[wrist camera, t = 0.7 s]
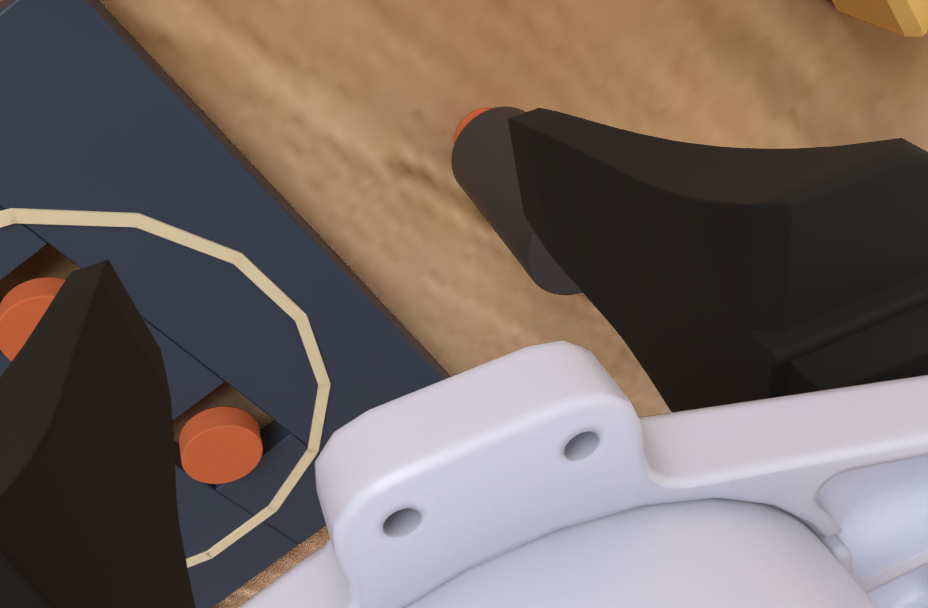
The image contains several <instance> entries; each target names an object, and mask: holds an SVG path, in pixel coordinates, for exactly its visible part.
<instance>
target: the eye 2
mask: <svg viewBox="0 0 928 608" xmlns="http://www.w3.org/2000/svg"><path fill="white" fill-rule="evenodd" d="M179 446H180V455H181V463H182V466H183V469H184V470H185V472H186V473H187V474H188V475H189V476H190V477H192V478H193V479H195V480H197V481H200V482H203V483H208V484H223V483H228V482H232V481H235V480H237V479H240V478H242V477H244V476H245V475H247V474H248V473H250V472H251V471H252V470H253V469H254V468H255V467H256V466H257V464H258V463H259V461H260V459H261V457H262V453H263V445H262V440H261V436H260V432H259V427H258V424H257V422H256V420H255V419H254V418H253V416H251V415H250V414H249V413H248V412H246V411H244V410H242V409H239V408H235V407H228V406H222V407H215V408H210V409H207V410H204V411H202V412H200V413H198V414H196V415H195V416H193V417H192V418H191V419H190V420H189V421H188V422H187V423H186V424H185V425H184V427H183V429H182V431H181V433H180V436H179Z"/></svg>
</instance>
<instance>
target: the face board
mask: <svg viewBox="0 0 928 608" xmlns="http://www.w3.org/2000/svg"><path fill="white" fill-rule="evenodd" d="M47 243H49V244H50V245H51V246H53V247H54V248H55V249H56V250H58V251H59V252H60V253H62V254H63V255H64V256H65V257H67V258H68V259H69V260H70V261H72V262H73V263H74V264H76V265H77V266H78V267H79V268H81V269H82V268H85V267H88V266H91V265H93V264H96V263H99V262H102V261H105V260H108V259H109V261H110V263H111V265H112V266H113V268H114V270H115V272H116V273H117V275H118V277H119V278H120V280H121V282H122V284H123V285H124V287H125V289H126V291H127V292H128V294H129V296H130V297H131V299H132V301H133V303H134V304H135V306H136V308H137V310H138V311H139V313H140V315H141V316H142V318H143V320H144V322H145V323H146V325H147V327H148V328H149V330H150V332H151V334H152V335H153V337H154V339H155V341H156V342H157V344H158V346H159V347H160V349H161V353H162V358H163V362H164V366H165V371H166V375H167V380H168V385H169V390H170V394H171V405H172V420H173V421H174V420H175V419H176V418H178V417H179V416H180V415H182V414H183V413H184V412H186V411H187V410H188V409H190V408H191V407H192V406H194V405H195V404H196V403H198V402H199V401H200V400H202V399H203V398H204V397H206V396H207V395H208V394H210V393H211V392H212V391H214V390H215V389H216V388H218V387H219V386H220V385H222V384H223V383H224V381H225V382H227V383H228V384H229V385H231V386H232V387H233V388H234V389H236V390H237V391H238V392H239V393H241V394H242V395H243V396H245V397H246V398H247V399H248V400H250V401H251V402H252V403H254V404H255V405H256V406H257V407H259V408H260V409H261V410H263V411H264V412H265V413H266V414H268V415H269V416H270V417H272V418H273V419H274V420H275V421H274V422H272V423H271V424H269V425H268V426H267V427H265V428H264V429H263V430H261V431H260V436H261V440H262V445H263V453H262V457H261V459H260V461H259V463H258V464H257V466H256V467H255V468H254V469H253V470H252V471H251V472H250V473H248V474H247V475H245V476H244V477H242V478H240V479H237V480H235V481H232V482H228V483H223V484H208V483H203V482H200V481H197V480H195V479H193V478H192V477H190V476H189V475H188V474H187V473H186V472H185V470H184V469H183V466H182V463H181V455H180V446H178V445H177V444H175V443H174V456H175V475H176V494H177V507H178V516H179V524H180V530H181V535H182V540H183V546H184V551H185V557H186V562H187V568H188V573H189V578H190V582H191V587H192V592H193V597H194V602H195V607H196V608H212V607H214V606H215V605H216V604H218V603H219V602H220V601H222V600H223V599H225V598H226V597H227V596H229V595H230V594H231V593H233V592H234V591H236V590H237V589H238V588H240V587H241V586H242V585H244V584H245V583H247V582H248V581H249V580H251V579H252V578H253V577H255V576H256V575H258V574H259V573H260V572H262V571H263V570H264V569H266V568H267V567H269V566H270V565H271V564H273V563H274V562H275V561H277V560H278V559H280V558H281V557H282V556H284V555H285V554H287V553H288V552H289V551H291V550H292V549H293V548H295V547H296V546H297V545H298V544H301V543H302V542H303V541H305V540H306V539H308V538H309V537H310V536H312V535H313V534H314V533H316V532H317V531H319V530H320V529H321V528H323V527H324V526H325V525H326V522H325V519H324V515H323V512H322V508H321V505H320V501H319V498H318V494H317V490H316V475H315V461H316V459H317V458H318V456H319V455H320V453H321V451H322V450H323V448H324V447H325V445H326V444H327V442H328V440H329V439H330V437H331V436H332V434H333V433H334V432H335V431H336V430H338V429H340V428H341V427H343V426H344V425H346V424H347V423H349V422H350V421H352V420H354V419H355V418H357V417H358V416H360V415H361V414H363V413H365V412H366V411H368V410H370V409H372V408H375V407H377V406H380V405H382V404H385V403H387V402H390V401H392V400H395V399H397V398H400V397H402V396H405V395H407V394H410V393H412V392H415V391H417V390H420V389H422V388H425V387H427V386H430V385H432V384H435V383H437V382H440V381H442V380H445V379H447V378H450V377H451V376H450V375H449V374H448V373H447V372H446V371H445V370H444V369H443V368H442V366H441V365H440V364H439V363H438V362H437V361H436V360H435V359H434V358H433V357H432V356H431V355H430V354H429V353H428V352H427V350H426V349H425V348H424V347H423V346H422V345H421V344H420V343H419V342H418V341H417V340H416V339H415V338H414V337H413V336H412V334H411V333H410V332H409V331H408V330H407V329H406V328H405V327H404V326H403V325H402V324H401V323H400V322H399V321H398V320H397V318H396V317H395V316H394V315H393V314H392V313H391V312H390V311H389V310H388V309H387V308H386V307H385V306H384V305H383V304H382V303H381V301H380V300H379V299H378V298H377V297H376V296H375V295H374V294H373V293H372V292H371V291H370V290H369V289H368V288H367V287H366V285H365V284H364V283H363V282H362V281H361V280H360V279H359V278H358V277H357V276H356V275H355V274H354V273H353V272H352V271H351V269H350V268H349V267H348V266H347V265H346V264H345V263H344V262H343V261H342V260H341V259H340V258H339V257H338V256H337V255H336V253H335V252H334V251H333V250H332V249H331V248H330V247H329V246H328V245H327V244H326V243H325V242H324V241H323V240H322V239H321V237H320V236H319V235H318V234H317V233H316V232H315V231H314V230H313V229H312V228H311V227H310V226H309V225H308V224H307V223H306V221H305V220H304V219H303V218H302V217H301V216H300V215H299V214H298V213H297V212H296V211H295V210H294V209H293V208H292V207H291V205H290V204H289V203H288V202H287V201H286V200H285V199H284V198H283V197H282V196H281V195H280V194H279V193H278V192H277V191H276V189H275V188H274V187H273V186H272V185H271V184H270V183H269V182H268V181H267V180H266V179H265V178H264V177H263V176H262V175H261V173H260V172H259V171H258V170H257V169H256V168H255V167H254V166H253V165H252V164H251V163H250V162H249V161H248V160H247V159H246V157H245V156H244V155H243V154H242V153H241V152H240V151H239V150H238V149H237V148H236V147H235V146H234V145H233V144H232V143H231V141H230V140H229V139H228V138H227V137H226V136H225V135H224V134H223V133H222V132H221V131H220V130H219V129H218V128H217V127H216V125H215V124H214V123H213V122H212V121H211V120H210V119H209V118H208V117H207V116H206V115H205V114H204V113H203V112H202V111H201V109H200V108H199V107H198V106H197V105H196V104H195V103H194V102H193V101H192V100H191V99H190V98H189V97H188V96H187V95H186V93H185V92H184V91H183V90H182V89H181V88H180V87H179V86H178V85H177V84H176V83H175V82H174V81H173V80H172V79H171V77H170V76H169V75H168V74H167V73H166V72H165V71H164V70H163V69H162V68H161V67H160V66H159V65H158V64H157V63H156V61H155V60H154V59H153V58H152V57H151V56H150V55H149V54H148V53H147V52H146V51H145V50H144V49H143V48H142V47H141V45H140V44H139V43H138V42H137V41H136V40H135V39H134V38H133V37H132V36H131V35H130V34H129V33H128V32H127V31H126V29H125V28H124V27H123V26H122V25H121V24H120V23H119V22H118V21H117V20H116V19H115V18H114V17H113V16H112V15H111V13H110V12H109V11H108V10H107V9H106V8H105V7H104V6H103V5H102V4H101V3H100V2H99V1H98V0H2V1H1V2H0V281H1V280H2V279H3V278H4V277H6V276H7V275H8V274H10V273H11V272H12V271H13V270H15V269H16V268H17V267H19V266H20V265H21V264H22V263H24V262H25V261H26V260H28V259H29V258H30V257H31V256H33V255H34V254H35V253H37V252H38V251H39V250H40V249H42V248H43V247H44V246H46V245H47ZM11 362H12V361H11V360H9V359H8V358H7V357H6V356H5V355H4V354H3V352H2V351H1V350H0V377H1V375H2V374H3V373H4V371H5V370H6V369H7V367H8V366H9V364H10V363H11Z"/></svg>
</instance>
